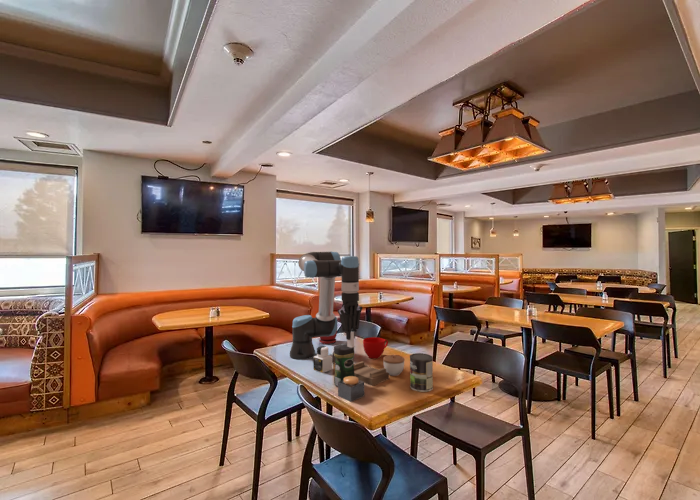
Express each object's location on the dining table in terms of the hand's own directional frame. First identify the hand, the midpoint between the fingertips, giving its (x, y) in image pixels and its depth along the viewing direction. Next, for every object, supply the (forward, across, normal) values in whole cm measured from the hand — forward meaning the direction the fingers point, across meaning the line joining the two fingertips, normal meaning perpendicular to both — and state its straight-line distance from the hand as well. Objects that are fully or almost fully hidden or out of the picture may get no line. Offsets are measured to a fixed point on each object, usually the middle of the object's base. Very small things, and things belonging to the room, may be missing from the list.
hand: (350, 346), depth 145 cm
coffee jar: (+21, +6, +11) cm, 25 cm away
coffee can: (+21, +29, -16) cm, 39 cm away
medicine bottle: (+22, +12, +34) cm, 42 cm away
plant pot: (+22, +49, +74) cm, 91 cm away
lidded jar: (+22, +34, +4) cm, 40 cm away
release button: (+21, 0, 0) cm, 21 cm away
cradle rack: (+21, +20, +10) cm, 31 cm away
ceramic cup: (+22, +49, +29) cm, 61 cm away
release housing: (+21, 0, 0) cm, 21 cm away
